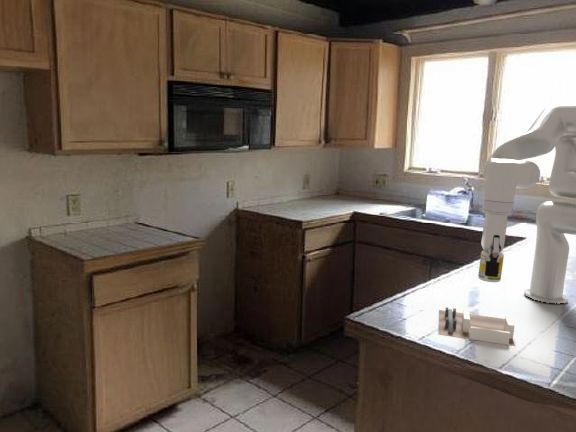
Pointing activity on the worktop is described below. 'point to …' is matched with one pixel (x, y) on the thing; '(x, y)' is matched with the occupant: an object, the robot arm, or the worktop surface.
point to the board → (474, 321)
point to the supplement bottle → (483, 265)
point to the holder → (489, 331)
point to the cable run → (450, 320)
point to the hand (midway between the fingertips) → (490, 272)
